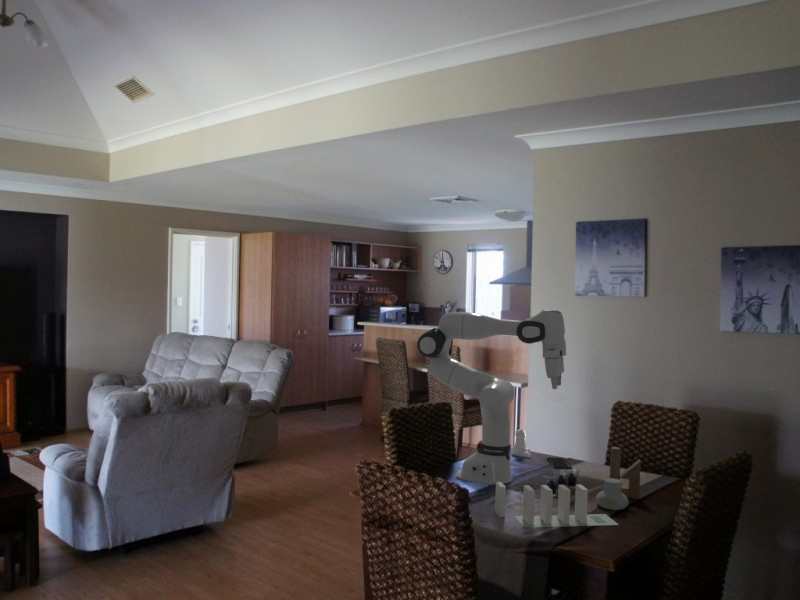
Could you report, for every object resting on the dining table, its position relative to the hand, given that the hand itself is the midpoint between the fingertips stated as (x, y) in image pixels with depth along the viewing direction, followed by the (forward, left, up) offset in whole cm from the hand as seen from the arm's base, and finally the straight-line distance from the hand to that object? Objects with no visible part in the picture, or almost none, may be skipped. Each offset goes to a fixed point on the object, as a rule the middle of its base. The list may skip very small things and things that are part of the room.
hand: (556, 387), depth 262 cm
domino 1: (-11, -42, -39) cm, 58 cm away
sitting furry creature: (-21, +42, -39) cm, 61 cm away
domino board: (+10, -39, -39) cm, 56 cm away
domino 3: (+4, -42, -38) cm, 57 cm away
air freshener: (+23, -16, -39) cm, 48 cm away
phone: (-3, +35, -39) cm, 53 cm away
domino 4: (+9, -39, -38) cm, 55 cm away
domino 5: (+15, -36, -38) cm, 54 cm away
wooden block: (+26, 0, -39) cm, 47 cm away
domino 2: (-1, -45, -38) cm, 59 cm away
